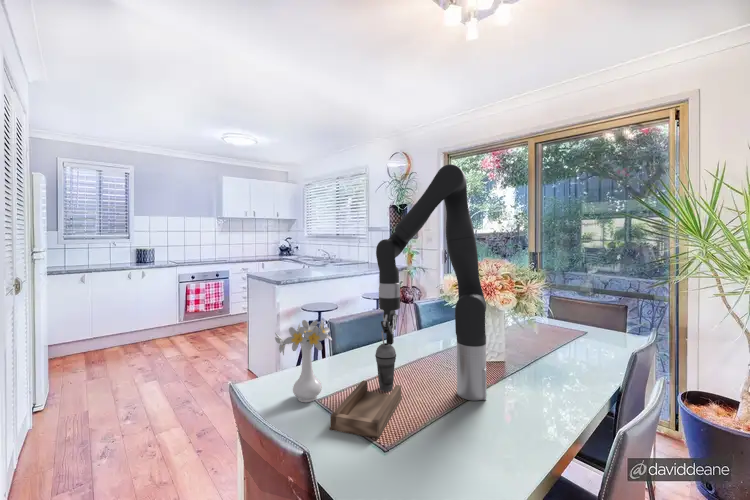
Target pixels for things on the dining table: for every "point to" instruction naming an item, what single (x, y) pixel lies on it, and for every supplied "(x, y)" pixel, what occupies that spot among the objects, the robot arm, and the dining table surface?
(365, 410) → the u rest
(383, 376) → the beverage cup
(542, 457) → the dining table surface
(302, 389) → the flower vase
